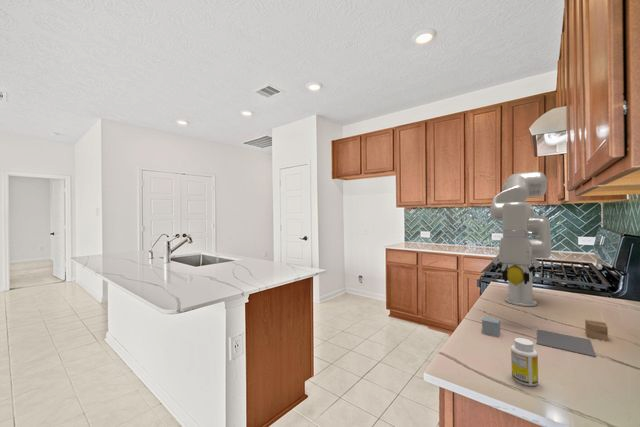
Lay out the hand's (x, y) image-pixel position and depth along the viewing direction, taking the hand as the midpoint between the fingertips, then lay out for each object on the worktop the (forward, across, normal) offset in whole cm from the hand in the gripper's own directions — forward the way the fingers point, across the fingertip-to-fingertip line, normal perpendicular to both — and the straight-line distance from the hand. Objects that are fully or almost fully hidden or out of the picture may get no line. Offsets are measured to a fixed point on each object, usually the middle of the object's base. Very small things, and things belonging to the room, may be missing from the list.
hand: (515, 281), depth 105 cm
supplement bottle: (+18, -5, +39) cm, 43 cm away
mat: (+17, -13, +5) cm, 22 cm away
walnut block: (+18, -22, -8) cm, 29 cm away
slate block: (+18, +6, +11) cm, 22 cm away
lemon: (+2, 0, 0) cm, 2 cm away
